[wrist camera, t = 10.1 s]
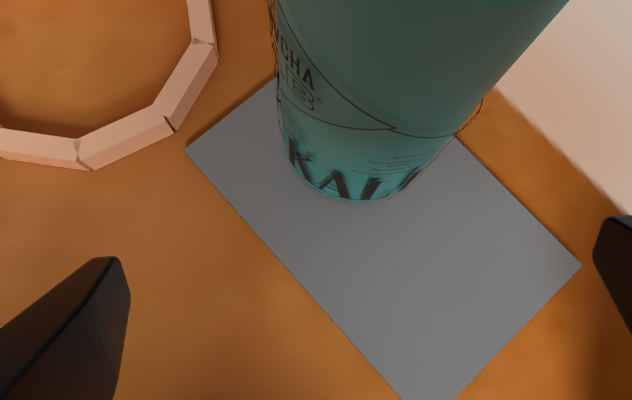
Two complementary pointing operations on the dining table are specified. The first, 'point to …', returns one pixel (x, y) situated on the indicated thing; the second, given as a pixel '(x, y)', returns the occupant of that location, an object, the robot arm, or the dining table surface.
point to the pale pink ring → (137, 126)
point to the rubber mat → (395, 252)
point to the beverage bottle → (388, 82)
